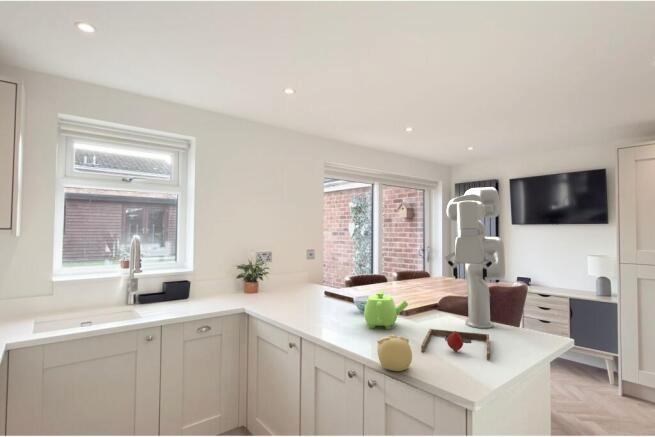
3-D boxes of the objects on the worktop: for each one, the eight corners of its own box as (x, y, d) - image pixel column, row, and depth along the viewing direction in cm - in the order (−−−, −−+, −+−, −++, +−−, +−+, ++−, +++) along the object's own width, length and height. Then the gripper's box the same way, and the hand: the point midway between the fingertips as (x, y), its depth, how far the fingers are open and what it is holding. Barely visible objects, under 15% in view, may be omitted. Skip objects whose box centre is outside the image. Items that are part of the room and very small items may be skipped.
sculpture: (406, 360, 126) (406, 330, 126) (416, 374, 114) (415, 341, 114) (375, 361, 126) (374, 331, 126) (381, 375, 114) (381, 342, 114)
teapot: (409, 333, 157) (408, 297, 158) (362, 331, 162) (361, 297, 162) (408, 318, 182) (407, 288, 182) (367, 317, 186) (366, 287, 187)
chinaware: (349, 310, 202) (348, 297, 202) (371, 307, 208) (370, 294, 208) (362, 316, 188) (361, 302, 188) (385, 313, 194) (384, 299, 195)
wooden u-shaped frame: (429, 334, 155) (429, 328, 155) (489, 340, 145) (489, 334, 145) (421, 351, 134) (421, 345, 134) (490, 360, 124) (489, 353, 124)
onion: (444, 351, 133) (444, 330, 134) (451, 347, 137) (451, 327, 138) (459, 355, 129) (458, 333, 129) (466, 351, 133) (465, 330, 133)
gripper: (493, 232, 131) (494, 278, 131) (445, 233, 138) (446, 276, 138) (494, 233, 124) (495, 281, 124) (443, 234, 131) (445, 279, 131)
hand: (470, 278), depth 131 cm, fingers open, 9 cm apart
